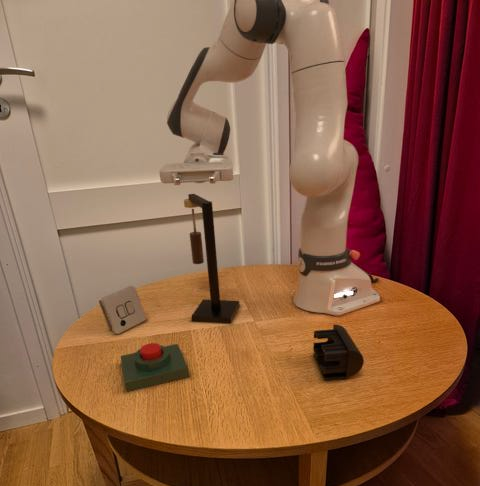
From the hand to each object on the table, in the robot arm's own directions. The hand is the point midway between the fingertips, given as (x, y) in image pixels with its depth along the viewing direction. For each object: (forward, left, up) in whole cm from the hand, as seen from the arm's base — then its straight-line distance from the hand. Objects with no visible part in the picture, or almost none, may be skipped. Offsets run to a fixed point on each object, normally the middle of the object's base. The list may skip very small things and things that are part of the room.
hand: (194, 181), depth 107 cm
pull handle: (+3, +7, -20) cm, 21 cm away
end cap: (-13, +52, -30) cm, 61 cm away
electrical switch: (+25, +16, -30) cm, 42 cm away
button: (+21, +39, -26) cm, 51 cm away
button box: (+21, +39, -30) cm, 53 cm away
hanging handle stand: (+2, +15, -30) cm, 33 cm away
